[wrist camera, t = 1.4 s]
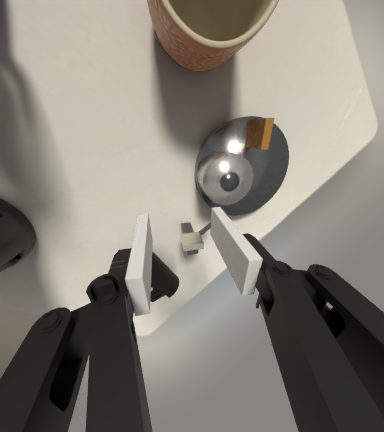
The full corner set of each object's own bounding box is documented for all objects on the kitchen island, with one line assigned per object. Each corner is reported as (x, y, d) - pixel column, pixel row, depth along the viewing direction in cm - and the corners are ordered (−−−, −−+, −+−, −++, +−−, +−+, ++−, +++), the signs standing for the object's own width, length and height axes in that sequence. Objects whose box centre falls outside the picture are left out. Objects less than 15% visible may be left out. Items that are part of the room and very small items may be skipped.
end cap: (177, 269, 42) (181, 291, 36) (155, 282, 43) (154, 306, 37) (154, 244, 37) (153, 266, 31) (128, 260, 38) (123, 284, 32)
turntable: (194, 214, 35) (203, 232, 29) (195, 116, 27) (206, 113, 21) (270, 207, 38) (292, 222, 32) (292, 117, 30) (327, 113, 23)
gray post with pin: (178, 231, 37) (183, 258, 29) (177, 212, 34) (182, 236, 27) (205, 228, 38) (217, 253, 30) (205, 209, 35) (219, 231, 28)
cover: (197, 196, 31) (204, 208, 26) (197, 151, 27) (205, 155, 23) (236, 193, 32) (250, 204, 28) (242, 149, 29) (258, 153, 24)
